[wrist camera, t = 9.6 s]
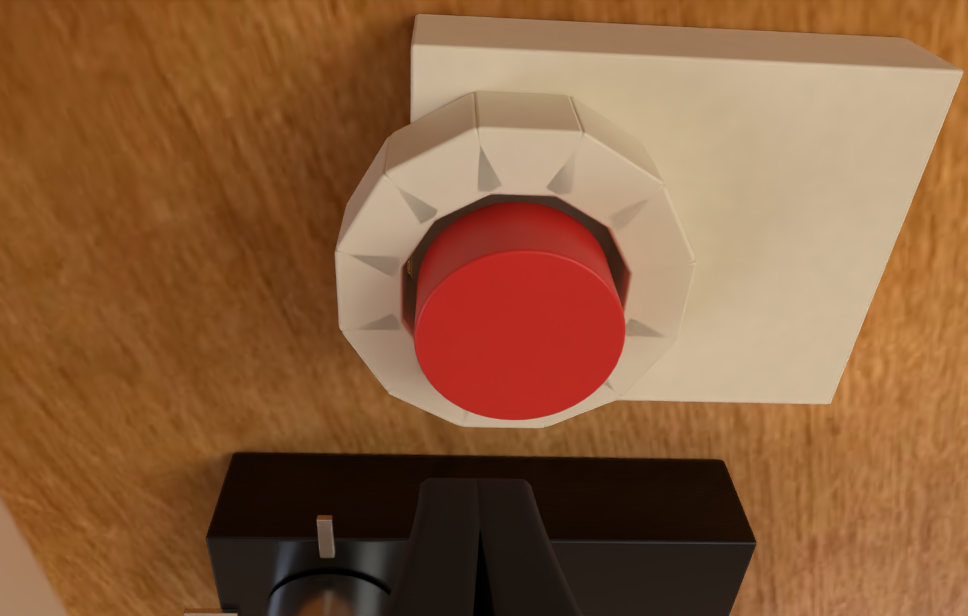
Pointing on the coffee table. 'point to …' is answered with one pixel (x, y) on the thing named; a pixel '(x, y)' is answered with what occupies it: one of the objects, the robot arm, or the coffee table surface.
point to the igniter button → (517, 312)
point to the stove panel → (555, 481)
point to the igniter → (657, 192)
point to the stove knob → (327, 597)
